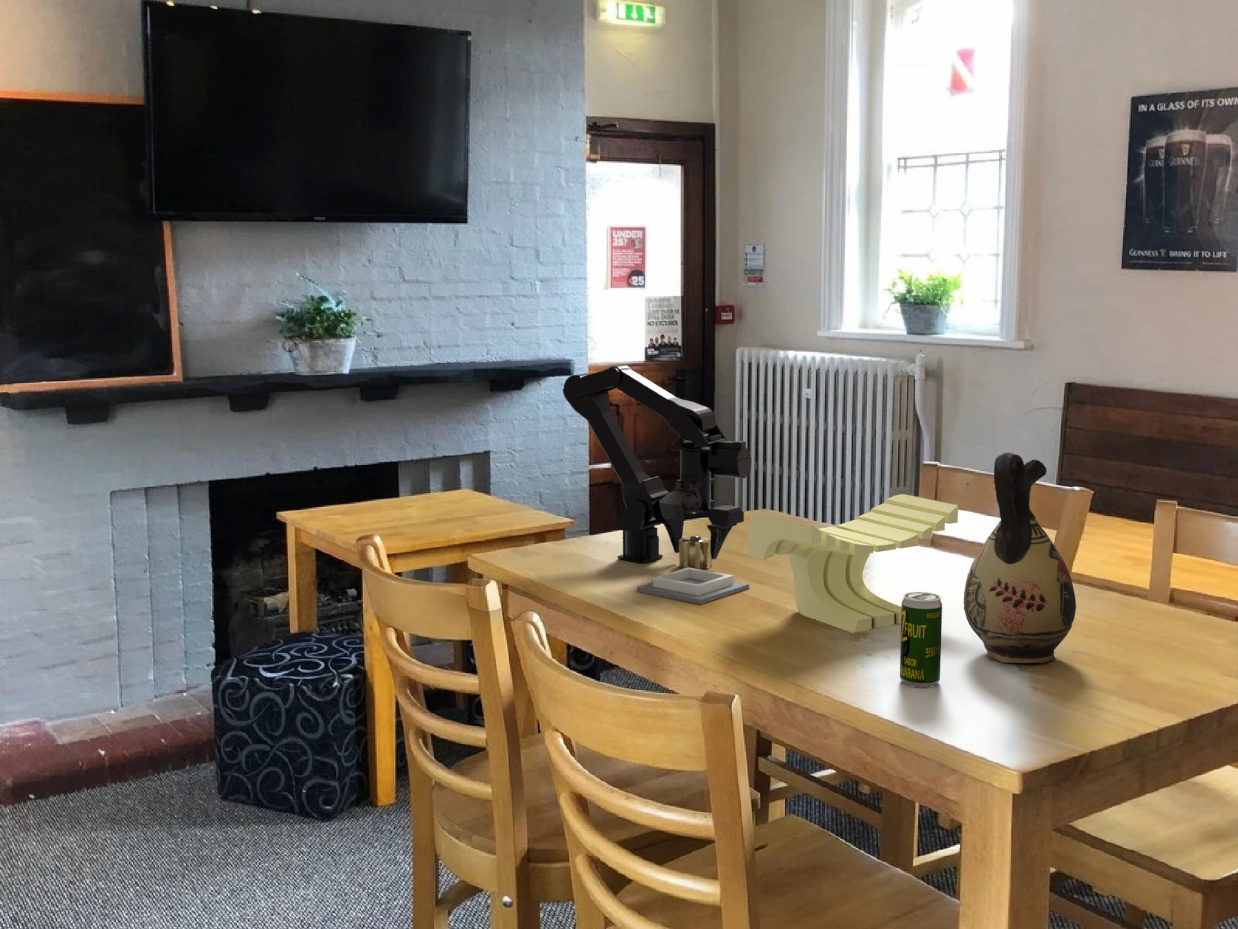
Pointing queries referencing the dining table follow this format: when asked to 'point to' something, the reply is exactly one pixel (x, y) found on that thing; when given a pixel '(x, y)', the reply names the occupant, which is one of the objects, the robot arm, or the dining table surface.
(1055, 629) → the ceramic jug
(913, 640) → the green soda can
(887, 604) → the slatted curved stool
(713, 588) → the carrier plate
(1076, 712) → the dining table surface
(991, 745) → the dining table surface
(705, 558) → the gear
